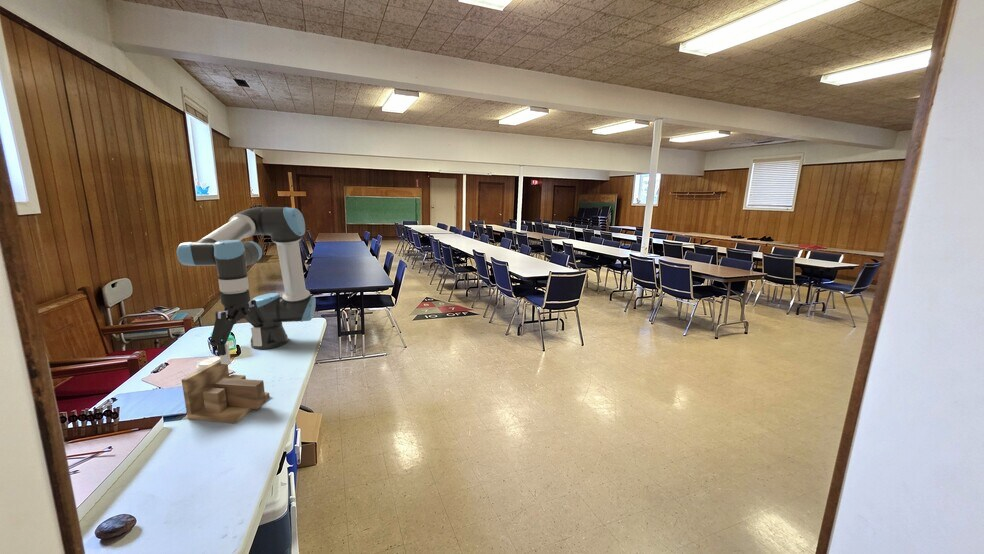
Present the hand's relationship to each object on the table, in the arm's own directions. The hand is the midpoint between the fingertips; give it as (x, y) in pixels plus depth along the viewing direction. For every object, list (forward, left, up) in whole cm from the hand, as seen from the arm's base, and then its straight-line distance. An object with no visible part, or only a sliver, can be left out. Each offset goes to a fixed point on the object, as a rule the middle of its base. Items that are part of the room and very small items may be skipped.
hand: (242, 354), depth 121 cm
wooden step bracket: (0, -6, -19) cm, 20 cm away
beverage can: (-8, -19, -20) cm, 29 cm away
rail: (0, -2, -18) cm, 18 cm away
